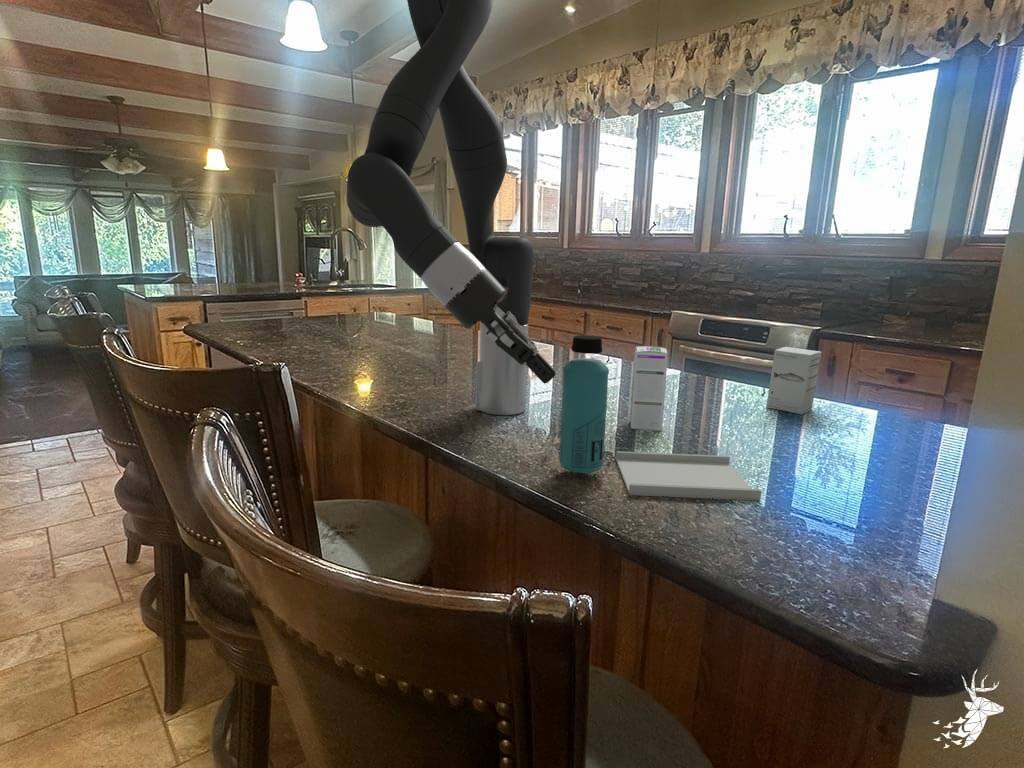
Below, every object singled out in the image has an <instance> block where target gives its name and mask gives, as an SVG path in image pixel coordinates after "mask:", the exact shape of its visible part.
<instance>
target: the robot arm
mask: <svg viewBox="0 0 1024 768" xmlns="http://www.w3.org/2000/svg"><path fill="white" fill-rule="evenodd" d="M406 1H407V6H408V11H409V16H410V19H411V22H412V26H413V29H414V33H415V36H416V39H417V42H418V45H419V47H420V48H419V49H418V51H416V53H414V54H413V56H411V58H409V60H408V61H407V62H406V63H404V65H403V66H402V67H401V68H400V69H399V70H398V71H397V73H395V75H394V76H393V77H392V79H391V80H390V82H389V84H388V85H387V87H386V90H385V91H384V93H383V95H382V97H381V100H380V102H379V106H378V108H377V109H376V113H375V115H374V116H373V120H372V122H371V125H370V130H369V134H368V139H367V146H366V149H365V151H364V154H362V155H360V156H358V157H357V158H356V159H354V161H353V162H352V163H351V165H350V167H349V170H348V171H347V178H346V179H347V180H346V197H345V198H346V205H347V207H348V210H349V212H350V213H351V214H350V215H352V217H353V218H354V219H355V220H356V221H357V222H358V223H359V224H361V225H363V226H366V227H369V228H378V227H379V228H380V227H383V229H384V230H385V231H386V232H387V233H388V235H389V236H390V238H391V239H392V243H393V247H394V249H395V251H396V253H397V254H398V256H399V258H401V259H402V261H403V262H404V263H405V264H406V265H407V266H408V267H409V268H410V269H411V270H412V271H413V273H415V274H416V275H417V276H418V278H419V279H420V280H421V281H422V282H423V283H424V285H425V287H427V289H428V290H429V292H430V293H431V294H432V295H433V296H434V298H436V299H437V301H438V302H440V303H441V304H442V306H444V308H445V309H446V310H447V311H448V312H449V313H450V315H452V316H453V317H454V318H455V319H456V320H457V321H458V323H460V325H462V327H464V328H465V329H467V330H468V329H471V328H472V327H474V326H475V324H477V322H480V332H479V333H480V335H479V336H480V337H479V338H480V339H479V340H480V341H479V361H477V362H476V363H475V403H474V404H475V405H474V408H475V410H476V411H480V412H482V413H486V414H490V415H495V416H496V415H498V416H509V415H510V416H511V415H517V414H518V415H519V414H521V413H523V412H525V411H526V402H527V398H526V395H527V394H526V392H527V375H528V373H527V369H528V368H529V370H530V371H531V372H532V373H533V374H534V375H535V376H536V377H537V378H538V379H539V380H540V382H542V383H543V384H548V383H549V382H551V381H552V380H553V378H554V377H555V376H556V370H555V369H554V367H553V366H552V365H551V364H550V363H549V362H548V361H547V360H546V359H545V358H544V357H543V355H541V354H540V353H539V352H540V351H539V350H538V347H536V345H535V342H534V341H533V340H532V339H530V337H529V316H530V310H531V304H532V303H531V302H532V289H533V279H534V278H533V276H534V266H535V257H534V256H535V254H534V249H533V246H532V243H531V241H530V240H529V239H527V238H526V237H515V236H514V237H512V236H495V235H494V232H493V228H492V221H491V219H492V218H491V217H492V216H491V215H492V209H493V207H494V203H495V200H496V199H497V196H498V194H499V192H500V189H501V187H502V185H503V182H504V179H505V176H506V173H507V168H508V159H507V158H508V157H507V153H506V146H505V142H504V141H505V140H504V135H503V131H502V126H501V125H502V124H501V122H500V120H499V118H498V116H497V114H496V113H495V112H494V109H493V108H492V106H491V105H490V104H489V102H488V101H487V100H486V98H485V97H484V96H483V95H482V93H481V91H480V90H479V89H478V88H477V86H476V85H475V84H474V82H473V81H472V79H471V78H470V77H469V75H468V73H467V71H466V70H465V67H464V65H463V64H464V62H465V60H466V59H467V58H468V56H469V54H470V52H471V51H472V49H473V48H474V46H475V44H476V43H477V41H478V40H479V39H480V37H481V34H482V33H483V31H484V29H485V28H486V26H487V24H488V21H489V18H490V16H491V13H492V8H493V2H494V0H406ZM438 110H439V113H440V118H441V122H442V127H443V131H444V137H445V141H446V146H447V150H448V154H449V158H450V163H451V166H452V171H453V174H454V177H455V181H456V184H457V190H458V193H459V197H460V202H461V206H462V211H463V215H464V221H465V227H466V228H465V229H466V234H467V236H466V237H467V241H468V248H469V250H468V249H467V247H465V246H464V245H463V244H462V243H460V242H459V241H458V240H457V239H456V237H455V236H454V235H453V234H452V233H451V232H450V231H449V230H448V229H447V228H446V227H445V226H444V225H443V223H441V221H439V220H438V219H437V218H436V216H435V215H434V214H433V212H432V210H431V209H430V207H429V205H428V204H427V201H426V200H425V198H424V197H423V196H422V194H421V193H420V191H419V189H418V188H417V186H416V184H414V183H413V181H412V180H411V178H410V177H411V175H412V170H413V168H414V165H415V162H416V160H417V158H418V157H419V154H420V153H421V151H422V149H423V147H424V144H425V142H426V139H427V136H428V134H429V132H430V128H431V126H432V124H433V122H434V119H435V116H436V113H437V111H438ZM505 288H507V290H506V289H505ZM504 296H505V297H504Z"/></svg>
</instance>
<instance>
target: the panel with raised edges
mask: <svg viewBox="0 0 1024 768" xmlns="http://www.w3.org/2000/svg"><path fill="white" fill-rule="evenodd" d="M615 454H616V455H615V461H616V463H617V466H618V469H619V471H620V474H621V477H622V479H623V481H624V485H625V487H626V490H627V492H628V495H629V496H640V497H642V496H644V497H645V496H646V497H647V496H648V497H663V496H664V497H666V496H667V497H666V498H687V499H707V500H709V498H710V499H712V498H713V499H714V500H729V501H730V500H732V499H733V501H734V499H735V501H753V500H755V502H757V501H758V502H759V501H761V497H762V489H760V488H752V487H751V486H750V485H749V483H747V482H746V480H745V479H744V477H742V476H741V474H739V473H738V471H737V470H736V469H735V468H734V467H733V466H732V465H731V464H730V461H731V460H730V459H731V457H730V456H729V455H715V454H713V455H712V454H689V453H671V452H670V453H668V452H664V453H663V452H644V451H643V452H642V451H641V452H640V451H621V450H620V451H619V450H617V451H616V453H615ZM713 499H712V500H713ZM756 500H757V501H756Z"/></svg>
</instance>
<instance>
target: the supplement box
mask: <svg viewBox="0 0 1024 768" xmlns="http://www.w3.org/2000/svg"><path fill="white" fill-rule="evenodd" d="M773 353H774V354H773V358H772V360H773V361H772V367H771V374H770V382H769V387H768V395H767V400H766V408H767V409H773V410H774V409H775V410H778V411H783V412H789V413H793V414H797V415H800V416H803V415H804V414H806V413H807V412H809V411H810V410H812V409H813V406H814V405H813V404H814V399H815V394H816V392H815V391H816V387H817V381H818V375H819V370H820V363H821V358H822V353H823V352H822V351H820V350H819V351H818V350H811V349H806V348H805V349H804V348H797V347H790V346H783V347H780V348H777V349H774V352H773Z"/></svg>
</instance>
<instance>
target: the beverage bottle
mask: <svg viewBox="0 0 1024 768" xmlns="http://www.w3.org/2000/svg"><path fill="white" fill-rule="evenodd" d="M571 351H572V352H574V353H579V354H586V355H588V354H589V355H590V354H592V355H593V354H601V353H603V340H602V337H601V336H597V335H592V334H586V335H585V334H580V335H574V336H573V338H572V345H571ZM562 369H563V370H562V371H563V375H562V376H563V377H562V400H561V412H560V419H559V420H560V427H559V448H558V455H557V456H558V458H559V459H558V458H557V459H558V461H559V465H560V466H561V468H563V469H565V470H567V471H570V472H574V473H579V474H583V473H584V474H586V473H587V474H589V473H595V472H599V471H600V470H602V468H603V465H604V464H605V462H604V461H605V455H606V450H605V443H606V441H605V440H606V437H605V435H606V432H607V431H606V425H607V423H608V422H607V420H606V419H607V410H608V385H609V373H610V370H609V368H608V366H607V365H606V364H605V363H604V362H603V361H602V360H599V359H596V358H586V357H585V358H584V357H579V358H578V357H577V358H572V359H571V360H569V362H567V363H566V364H565V365H564V366H563V367H562Z"/></svg>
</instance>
